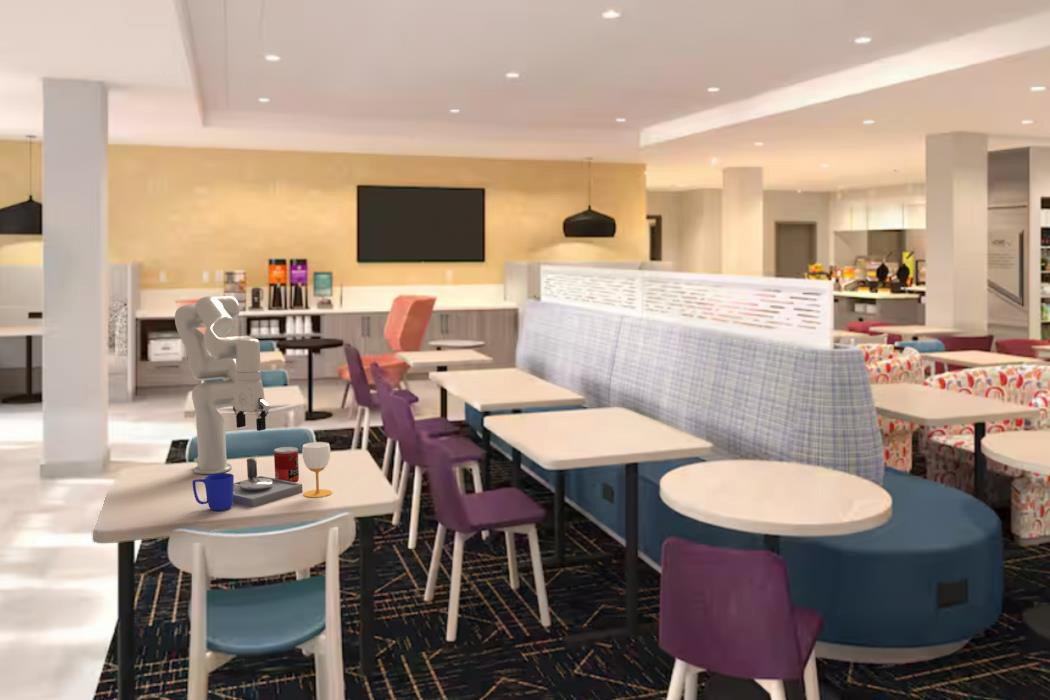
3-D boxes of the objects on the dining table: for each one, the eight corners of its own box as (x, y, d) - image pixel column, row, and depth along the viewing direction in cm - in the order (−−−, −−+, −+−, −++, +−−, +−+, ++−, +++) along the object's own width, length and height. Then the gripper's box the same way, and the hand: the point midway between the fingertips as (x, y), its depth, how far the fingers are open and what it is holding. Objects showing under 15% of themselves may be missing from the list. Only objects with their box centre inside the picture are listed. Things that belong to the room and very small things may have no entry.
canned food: (293, 484, 296) (291, 452, 295) (271, 483, 298) (269, 451, 296) (303, 478, 303) (301, 447, 302) (281, 477, 305) (280, 446, 304)
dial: (275, 487, 281) (274, 465, 280) (243, 491, 277) (242, 469, 276) (267, 477, 294) (266, 456, 293) (235, 481, 289) (234, 459, 288)
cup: (307, 499, 278) (305, 449, 276) (300, 492, 286) (298, 443, 284) (335, 495, 282) (333, 446, 280) (328, 488, 290) (326, 440, 288)
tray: (210, 497, 281) (210, 489, 281) (260, 483, 297) (260, 475, 297) (252, 507, 270) (252, 498, 270) (302, 491, 287) (302, 484, 286)
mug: (197, 505, 272) (196, 473, 271) (237, 504, 273) (236, 472, 272) (190, 513, 264) (188, 480, 263) (231, 512, 265) (229, 479, 264)
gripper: (221, 376, 288) (224, 427, 290) (257, 380, 278) (260, 433, 280) (240, 373, 294) (242, 423, 296) (276, 377, 285) (278, 429, 287)
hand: (251, 428), depth 288 cm, fingers open, 9 cm apart
